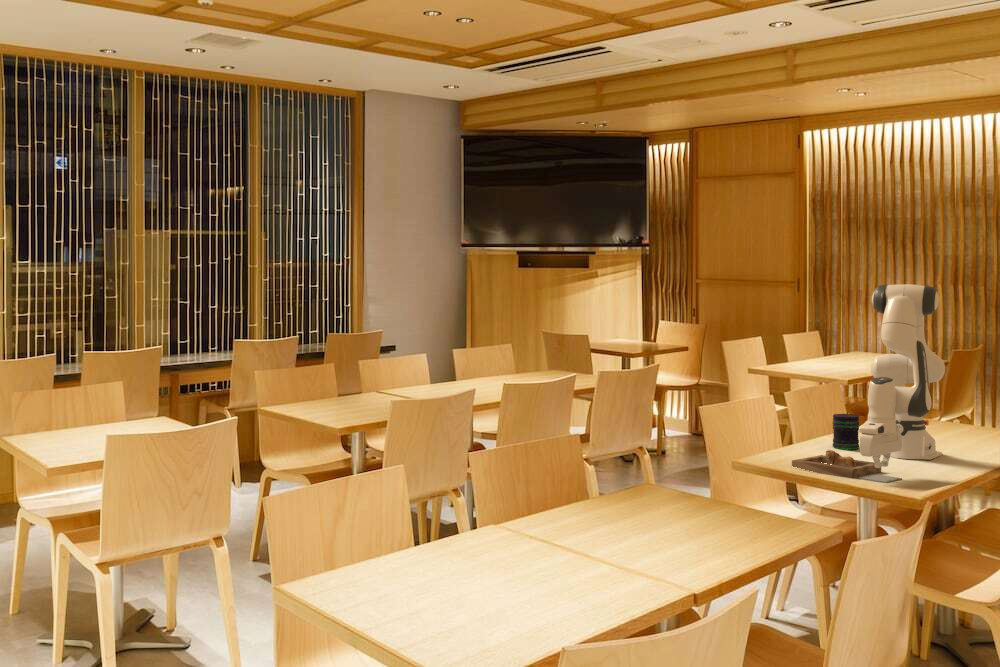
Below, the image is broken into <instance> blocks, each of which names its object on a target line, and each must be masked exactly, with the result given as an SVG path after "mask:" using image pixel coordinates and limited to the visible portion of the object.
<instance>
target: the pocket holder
mask: <svg viewBox="0 0 1000 667" xmlns="http://www.w3.org/2000/svg"><path fill="white" fill-rule="evenodd" d="M854 460H855V463H856V467H855V465H854V462H853V466H854V467H853V468H851V467H849V465H848V464H845V465H840V464H838V466H837V465H834V464H832V465H830V464H831V463H830V462H829V461H828V460H827V459H826V457H825V455H823V454H820V455H816V456H815V455H814V456H808V457H802V458H798V459H792V460H791V467H792V466H793V467H797V468H801V469H805V470H804V471H806V470H809V471H808V472H810V471H813V472H812V473H815V472H819V473H818V474H822V473H823V474H822V475H827V476H828V475H829V476H835V477H840V478H841V477H843V478H848V479H855V478H858V477H863V476H868V475H872V474H879V473H882V467H881V468H875V462H874V461H873V462H872V461H865V460H860V459H859V460H858V459H854ZM821 462H822V463H821ZM824 463H827V464H824ZM797 468H796V469H797ZM801 469H800V470H801Z"/></svg>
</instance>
